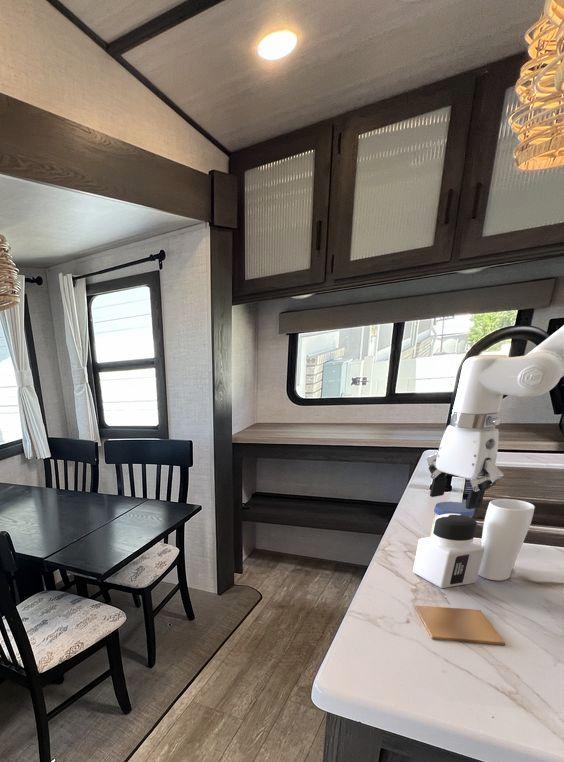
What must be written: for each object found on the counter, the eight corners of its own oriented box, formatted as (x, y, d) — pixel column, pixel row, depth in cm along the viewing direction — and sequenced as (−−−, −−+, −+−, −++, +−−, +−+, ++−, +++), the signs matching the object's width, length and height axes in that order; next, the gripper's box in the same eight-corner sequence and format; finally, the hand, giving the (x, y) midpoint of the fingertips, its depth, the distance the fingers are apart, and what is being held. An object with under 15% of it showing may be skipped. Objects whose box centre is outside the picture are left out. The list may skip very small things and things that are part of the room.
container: (476, 583, 91) (493, 520, 86) (441, 589, 90) (455, 526, 85) (444, 566, 98) (457, 508, 93) (411, 572, 97) (422, 513, 92)
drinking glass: (476, 565, 97) (493, 496, 91) (517, 574, 93) (538, 502, 86) (467, 577, 93) (484, 506, 87) (509, 587, 89) (531, 512, 82)
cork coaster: (480, 612, 82) (480, 609, 82) (504, 645, 73) (505, 642, 73) (415, 607, 85) (415, 605, 85) (431, 639, 76) (432, 636, 76)
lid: (466, 507, 105) (467, 501, 104) (478, 518, 99) (480, 512, 98) (429, 507, 107) (431, 501, 106) (439, 518, 101) (441, 511, 100)
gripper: (531, 424, 88) (506, 511, 95) (451, 413, 103) (435, 488, 111) (499, 429, 86) (476, 517, 94) (422, 417, 102) (407, 493, 109)
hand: (453, 501), depth 102 cm, fingers open, 8 cm apart
